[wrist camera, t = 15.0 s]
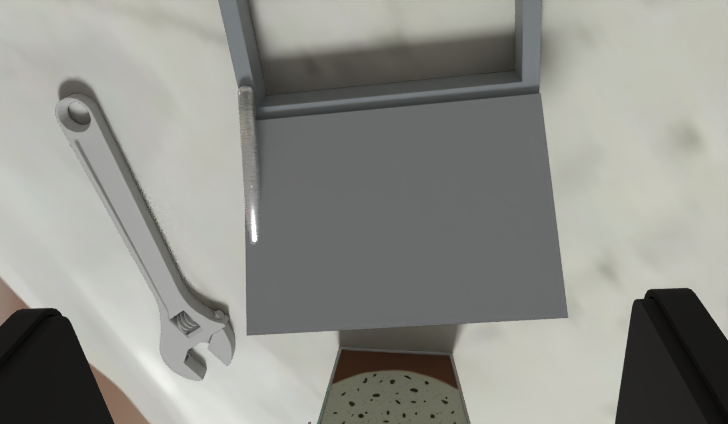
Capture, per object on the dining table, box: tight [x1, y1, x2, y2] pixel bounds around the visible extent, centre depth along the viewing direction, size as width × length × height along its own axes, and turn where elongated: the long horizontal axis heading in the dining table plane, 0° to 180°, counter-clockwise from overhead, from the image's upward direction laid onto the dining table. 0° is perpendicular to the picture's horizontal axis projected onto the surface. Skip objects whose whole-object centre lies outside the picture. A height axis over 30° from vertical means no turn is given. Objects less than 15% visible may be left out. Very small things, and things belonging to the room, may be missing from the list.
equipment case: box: [218, 0, 568, 335], centre depth 31 cm, size 18×27×11 cm, turn 7°
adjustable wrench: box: [55, 93, 236, 381], centre depth 44 cm, size 25×6×2 cm, turn 11°
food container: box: [308, 347, 470, 424], centre depth 45 cm, size 12×6×10 cm, turn 89°
